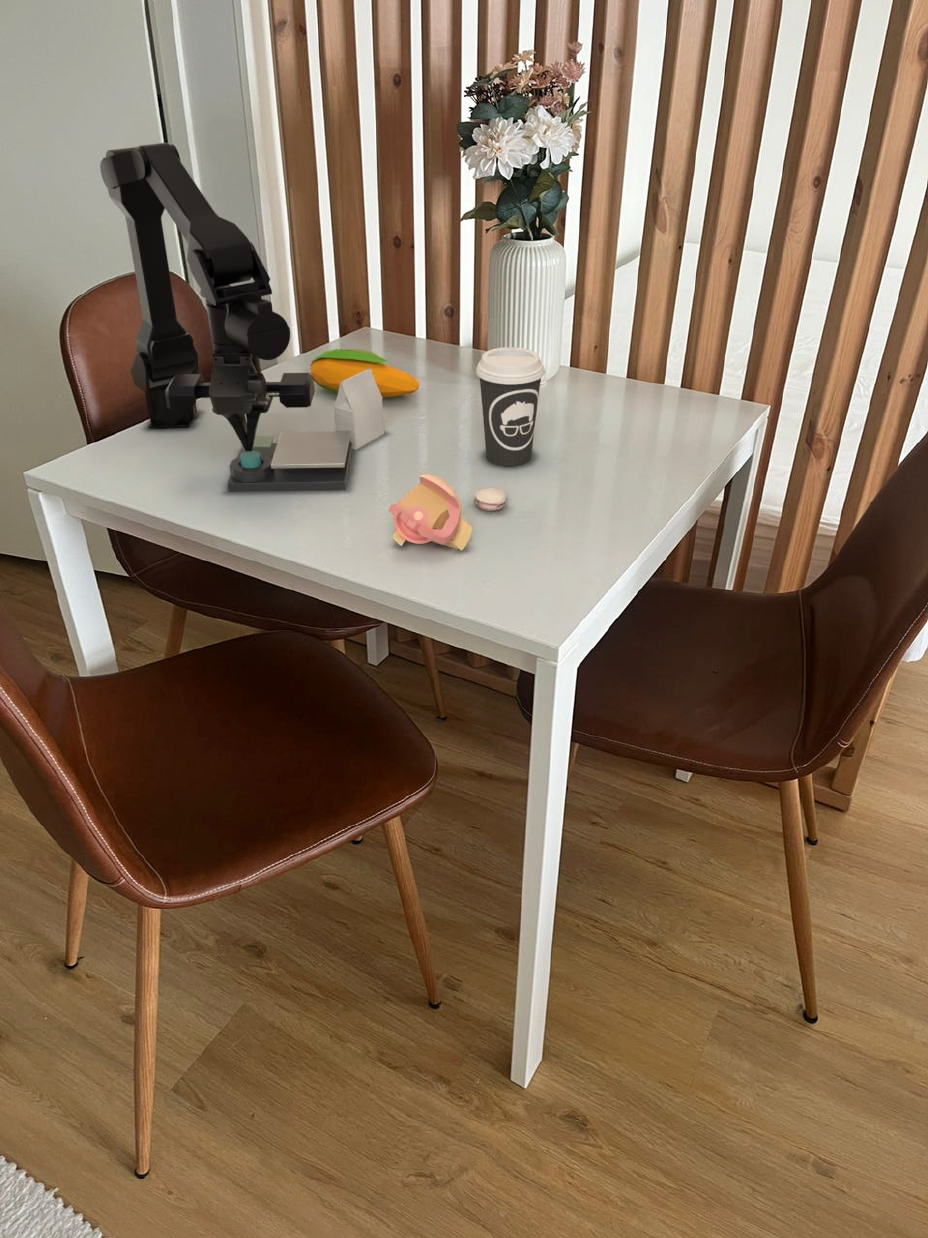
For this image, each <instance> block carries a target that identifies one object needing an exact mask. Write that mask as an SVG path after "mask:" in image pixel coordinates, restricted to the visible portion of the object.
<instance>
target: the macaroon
mask: <svg viewBox="0 0 928 1238" xmlns="http://www.w3.org/2000/svg"><path fill="white" fill-rule="evenodd" d="M506 502H507V492H506V490H504V489H501V488H494V487H486V488H481V489H478V490H477V491H476V492H475V493H474V504H475V505H476V506H477V507H478V508H479V509H481V510H483V511H487V512H493V511H497V510H500V509H502V508H503V507H504V505H505V504H506Z"/></svg>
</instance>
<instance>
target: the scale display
mask: <svg viewBox="0 0 928 1238" xmlns="http://www.w3.org/2000/svg"><path fill="white" fill-rule="evenodd" d="M274 439H275V436H274V435H261V436H260V435H259V436H257V435H256V436H255V440H254V445H253V448H271V445H272V443H274V442H273V441H274ZM241 447H242V448H244V447H243V446H242V445H241Z"/></svg>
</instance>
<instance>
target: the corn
mask: <svg viewBox="0 0 928 1238" xmlns="http://www.w3.org/2000/svg"><path fill="white" fill-rule="evenodd" d="M376 355H377V354H376ZM376 355H373V354H368V353H363V352H357V351H351V350H349V349H348V350H347V349H342V348H341V349H338V348H335V349H331V350H328V351H325V352H323V353H321V354H319V355H318V356H315V358H314V359H313V360H312V361H311V364H310V372H309V374H310V375H311V376H312V377H313V379H314V383H315V384H316V385H317V386H319V387H320V388H322V389H323V390H325V391H327V392H329V393H332V394H336V395H338V392H339V388H340V382H342V381H344V380H346V379H348V378H350V377H352V376H354V375H357V374H359V373H361V372H363V371H365V370H367V369H372V374H373V376H374V379H375V382H376V384H377V387H378V389H379V391H380V394H381V396H382V398H393V397H400V396H406V395H411V394H414V393H415V392H417V391H418V390H419V387H420V381H418V379H416V378H415V377H414V376H412V375H411V374H410V373H408V372H405V371H403V370H400V369H398V368H395V367H393V366H391V365H388V364H385V363H387V361H388V360H387V359H385V358H383V357H381V356H379V355H378V356H376ZM316 359H317V360H316Z"/></svg>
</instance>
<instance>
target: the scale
mask: <svg viewBox="0 0 928 1238" xmlns="http://www.w3.org/2000/svg"><path fill="white" fill-rule="evenodd" d="M277 443H278V442H272V445H271V448H253V449H252V451H257V452H259V453H260V455H261V462H262V465H261V466H259V467H255V468H243V467H241V461H240V454H241V453H243V452H246V451H245V449H244V448H242V446H243V445H242V444H241V447H240V450H239V452H238V455H237V457H236V458H234V459H232V460H230V464H229V471H230V476H229V478H228V481H227V483H226V484H227V490H228V493H255V492H256V493H257V492H258V493H261V492H262V493H263V492H264V493H265V492H320V491H321V492H323V491H324V492H327V491H328V492H329V491H330V492H331V491H346V489H347V484H348V477H349V471H350V465H351V461H352V454H353V448H352V443H351V442H349V444H348V450H347V456H346V461H345V467H344V468H279V469H271V462H272V459H273V456H274V453H275V450H276V446H277Z"/></svg>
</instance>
